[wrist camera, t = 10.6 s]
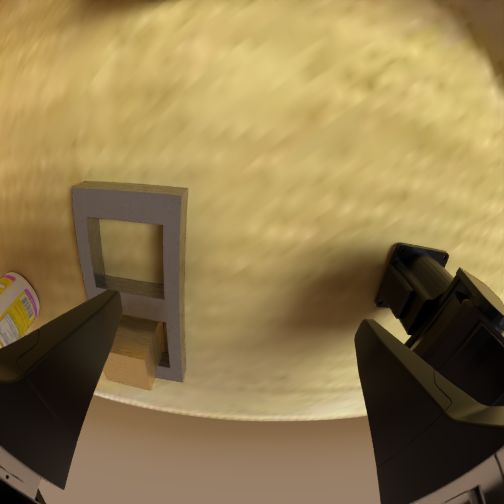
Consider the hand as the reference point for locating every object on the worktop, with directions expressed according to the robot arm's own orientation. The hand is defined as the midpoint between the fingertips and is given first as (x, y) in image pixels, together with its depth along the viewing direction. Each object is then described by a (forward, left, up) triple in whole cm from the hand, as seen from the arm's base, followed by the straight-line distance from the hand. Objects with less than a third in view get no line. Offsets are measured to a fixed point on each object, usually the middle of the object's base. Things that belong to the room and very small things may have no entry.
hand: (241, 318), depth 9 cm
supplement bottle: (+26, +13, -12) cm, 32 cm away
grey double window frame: (+9, +9, -12) cm, 17 cm away
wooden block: (+9, +13, -12) cm, 20 cm away
